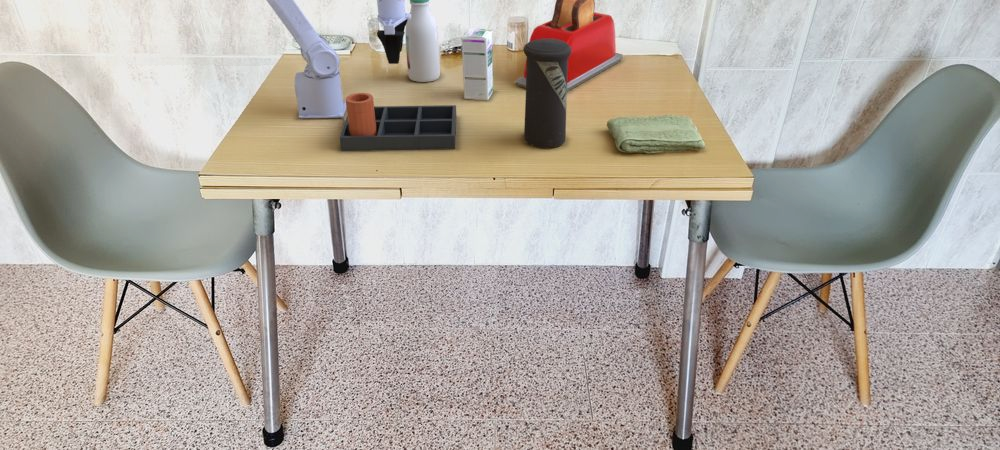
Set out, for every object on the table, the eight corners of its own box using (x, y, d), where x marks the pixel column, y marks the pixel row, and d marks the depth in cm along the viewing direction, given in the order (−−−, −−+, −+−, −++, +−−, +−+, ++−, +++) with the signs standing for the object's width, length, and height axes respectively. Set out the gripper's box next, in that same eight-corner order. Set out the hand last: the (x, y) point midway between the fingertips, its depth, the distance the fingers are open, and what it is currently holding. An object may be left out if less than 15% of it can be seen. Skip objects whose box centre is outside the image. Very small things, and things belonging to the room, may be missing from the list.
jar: (349, 145, 143) (343, 103, 138) (352, 134, 147) (347, 92, 142) (375, 145, 143) (371, 102, 138) (378, 134, 147) (374, 92, 143)
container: (553, 153, 141) (558, 53, 130) (514, 142, 145) (515, 44, 134) (574, 136, 147) (580, 40, 136) (535, 127, 151) (538, 32, 140)
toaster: (558, 98, 164) (561, 14, 154) (512, 85, 171) (512, 5, 161) (625, 59, 186) (631, -16, 176) (582, 49, 193) (586, -24, 183)
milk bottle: (446, 75, 177) (443, -9, 166) (427, 85, 171) (422, -1, 160) (421, 69, 180) (416, -13, 169) (401, 78, 175) (395, -6, 164)
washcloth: (707, 152, 141) (710, 137, 139) (617, 156, 140) (619, 141, 138) (687, 125, 152) (689, 110, 150) (604, 128, 151) (605, 113, 149)
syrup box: (488, 101, 163) (487, 37, 155) (463, 98, 164) (461, 35, 156) (493, 91, 168) (493, 29, 160) (468, 89, 169) (467, 27, 161)
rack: (341, 151, 142) (339, 137, 140) (351, 119, 155) (350, 106, 153) (455, 149, 142) (454, 135, 141) (456, 117, 155) (456, 105, 154)
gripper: (406, 3, 145) (411, 68, 152) (411, -16, 157) (415, 46, 165) (371, 3, 145) (377, 69, 152) (379, -15, 157) (384, 46, 164)
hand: (395, 57), depth 158 cm, fingers open, 7 cm apart
